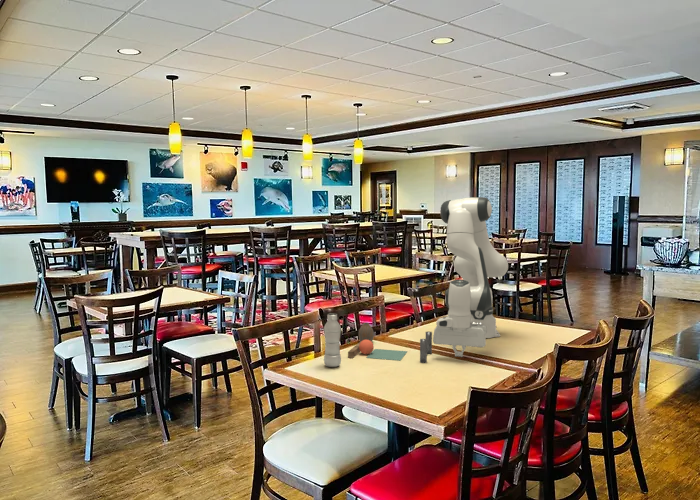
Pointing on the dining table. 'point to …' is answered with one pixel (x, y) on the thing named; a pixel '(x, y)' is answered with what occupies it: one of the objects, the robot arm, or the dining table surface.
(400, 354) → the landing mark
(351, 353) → the wall
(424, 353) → the post
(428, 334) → the post
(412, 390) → the dining table surface
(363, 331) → the vase
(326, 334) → the plastic bottle
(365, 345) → the ball
